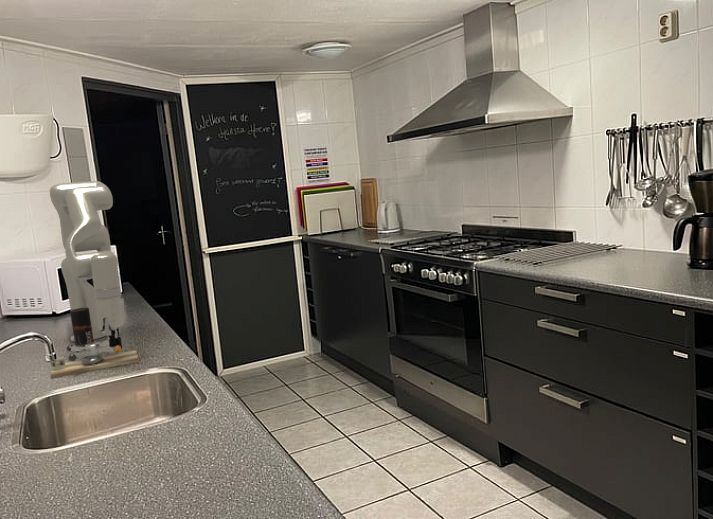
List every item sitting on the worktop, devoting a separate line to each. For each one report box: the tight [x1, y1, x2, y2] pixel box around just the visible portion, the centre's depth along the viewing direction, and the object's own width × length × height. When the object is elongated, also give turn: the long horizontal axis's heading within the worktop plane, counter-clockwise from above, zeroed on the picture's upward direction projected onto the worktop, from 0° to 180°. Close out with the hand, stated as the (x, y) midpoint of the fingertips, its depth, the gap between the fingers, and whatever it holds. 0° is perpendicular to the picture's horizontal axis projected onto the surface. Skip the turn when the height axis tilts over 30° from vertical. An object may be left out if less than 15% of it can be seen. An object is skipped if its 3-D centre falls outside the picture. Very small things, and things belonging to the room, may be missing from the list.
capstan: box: [66, 338, 122, 364], centre depth 189 cm, size 20×20×5 cm
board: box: [50, 349, 140, 379], centre depth 189 cm, size 11×25×4 cm, turn 114°
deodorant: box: [69, 308, 95, 353], centre depth 206 cm, size 6×6×15 cm
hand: (116, 349), depth 190 cm, fingers closed
